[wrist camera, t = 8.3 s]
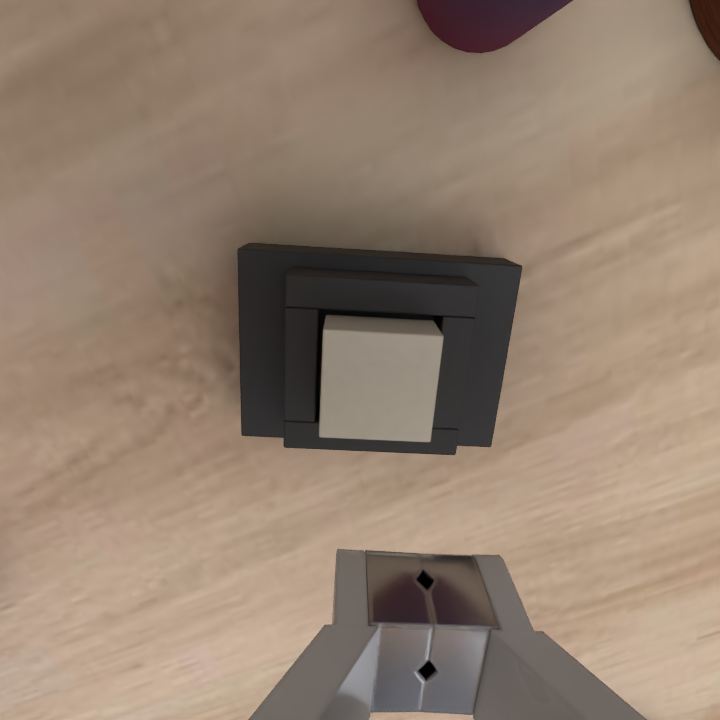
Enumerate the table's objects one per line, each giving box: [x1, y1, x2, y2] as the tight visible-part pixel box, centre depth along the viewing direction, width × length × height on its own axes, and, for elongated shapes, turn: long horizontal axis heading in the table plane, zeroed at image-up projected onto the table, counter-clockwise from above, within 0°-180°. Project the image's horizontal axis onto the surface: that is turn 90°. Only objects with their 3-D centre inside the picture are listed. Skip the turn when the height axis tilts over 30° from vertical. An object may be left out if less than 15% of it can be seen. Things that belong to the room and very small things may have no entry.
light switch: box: [238, 243, 522, 455], centre depth 20 cm, size 11×8×4 cm
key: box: [319, 315, 444, 442], centre depth 17 cm, size 4×4×2 cm
